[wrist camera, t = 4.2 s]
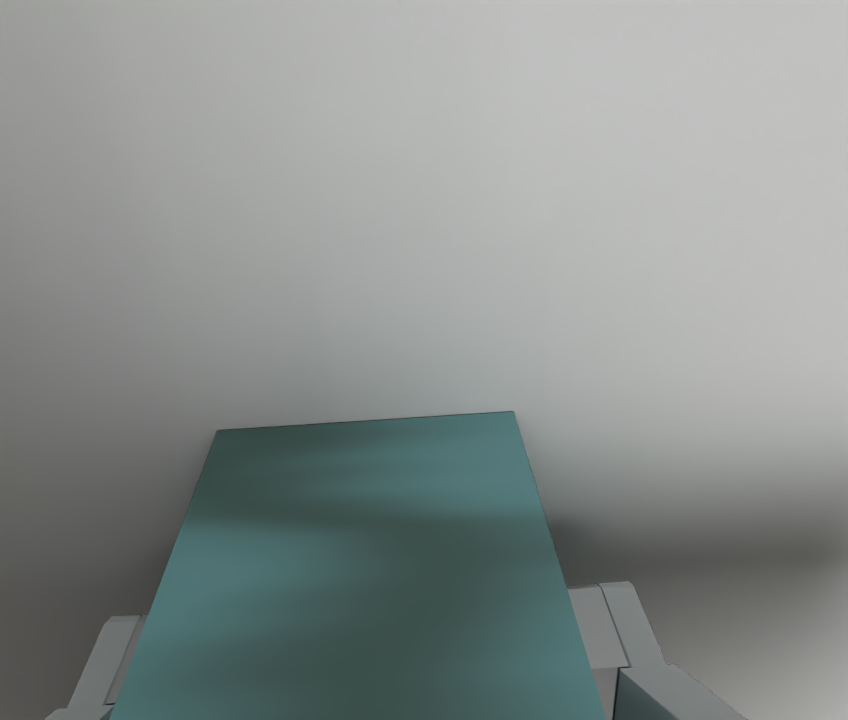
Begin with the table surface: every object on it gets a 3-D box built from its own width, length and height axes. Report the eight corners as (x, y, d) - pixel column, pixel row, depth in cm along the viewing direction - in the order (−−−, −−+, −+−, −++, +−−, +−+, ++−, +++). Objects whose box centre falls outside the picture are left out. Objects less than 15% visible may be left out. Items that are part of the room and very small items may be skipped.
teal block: (261, 641, 14) (186, 1042, 9) (217, 430, 12) (79, 796, 7) (510, 623, 15) (587, 1009, 9) (513, 411, 12) (617, 757, 7)
